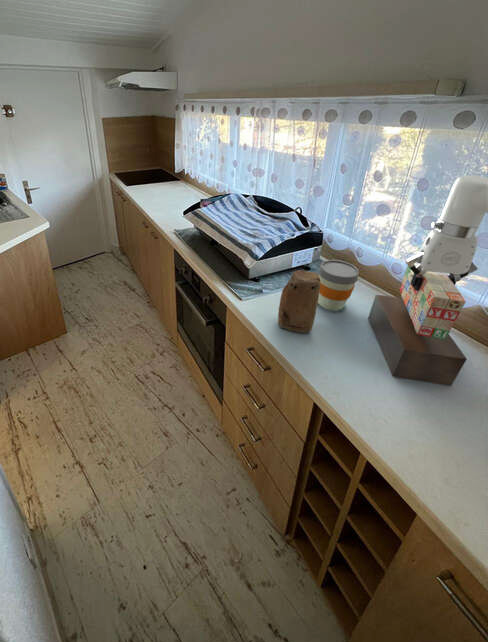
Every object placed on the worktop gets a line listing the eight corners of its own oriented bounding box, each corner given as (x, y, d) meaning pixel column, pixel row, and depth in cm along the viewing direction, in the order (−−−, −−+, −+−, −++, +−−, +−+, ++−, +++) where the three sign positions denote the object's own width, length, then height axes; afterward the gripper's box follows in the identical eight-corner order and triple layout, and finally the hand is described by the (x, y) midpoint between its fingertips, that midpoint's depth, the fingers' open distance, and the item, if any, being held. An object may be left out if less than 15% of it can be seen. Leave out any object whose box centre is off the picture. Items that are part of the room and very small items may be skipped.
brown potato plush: (309, 321, 104) (320, 271, 95) (311, 336, 98) (324, 284, 88) (276, 316, 107) (284, 267, 97) (277, 330, 100) (285, 279, 91)
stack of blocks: (398, 289, 96) (411, 255, 90) (421, 293, 94) (436, 258, 88) (417, 334, 79) (434, 295, 73) (446, 340, 77) (466, 300, 71)
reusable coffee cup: (327, 289, 120) (335, 256, 113) (356, 306, 111) (367, 271, 104) (305, 299, 115) (312, 265, 108) (333, 318, 105) (343, 281, 98)
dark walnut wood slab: (413, 324, 102) (424, 300, 97) (451, 386, 81) (467, 358, 76) (367, 318, 105) (375, 294, 100) (392, 376, 84) (404, 349, 79)
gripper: (422, 231, 73) (398, 293, 81) (509, 237, 69) (475, 301, 78) (410, 220, 79) (389, 278, 88) (488, 225, 76) (459, 285, 84)
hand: (429, 288), depth 83 cm, fingers closed on stack of blocks, 6 cm apart
